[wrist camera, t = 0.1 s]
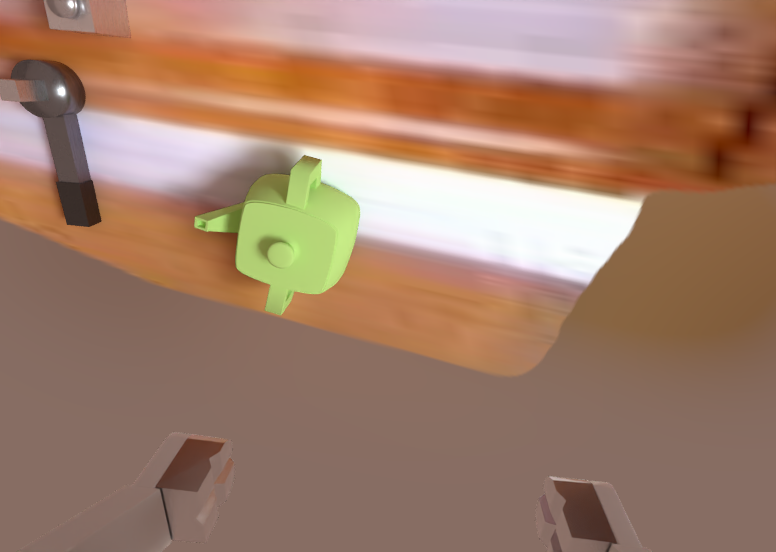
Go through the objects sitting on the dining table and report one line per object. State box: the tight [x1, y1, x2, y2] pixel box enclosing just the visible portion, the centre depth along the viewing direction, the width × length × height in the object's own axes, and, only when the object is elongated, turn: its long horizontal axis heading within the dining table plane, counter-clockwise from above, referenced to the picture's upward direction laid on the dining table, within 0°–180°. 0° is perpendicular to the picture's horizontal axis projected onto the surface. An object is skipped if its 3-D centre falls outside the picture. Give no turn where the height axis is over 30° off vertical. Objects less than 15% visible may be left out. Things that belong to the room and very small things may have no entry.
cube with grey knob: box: [43, 0, 131, 38], centre depth 47 cm, size 5×5×7 cm
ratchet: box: [0, 60, 101, 227], centre depth 54 cm, size 21×6×8 cm, turn 176°
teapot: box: [194, 155, 360, 315], centre depth 53 cm, size 18×20×13 cm
